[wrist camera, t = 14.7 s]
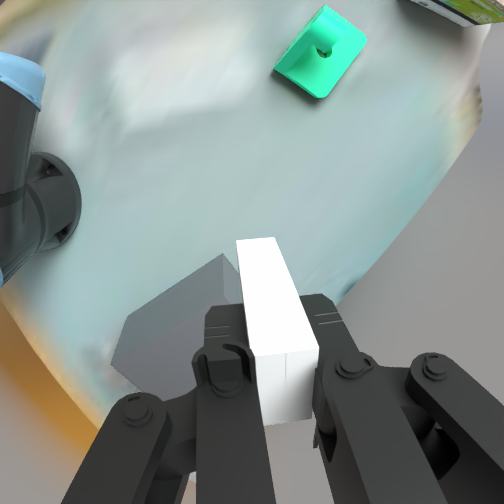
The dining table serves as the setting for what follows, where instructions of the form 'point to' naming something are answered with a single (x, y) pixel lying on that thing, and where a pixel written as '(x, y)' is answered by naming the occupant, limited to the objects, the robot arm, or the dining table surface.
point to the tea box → (467, 10)
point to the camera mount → (326, 40)
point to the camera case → (174, 330)
